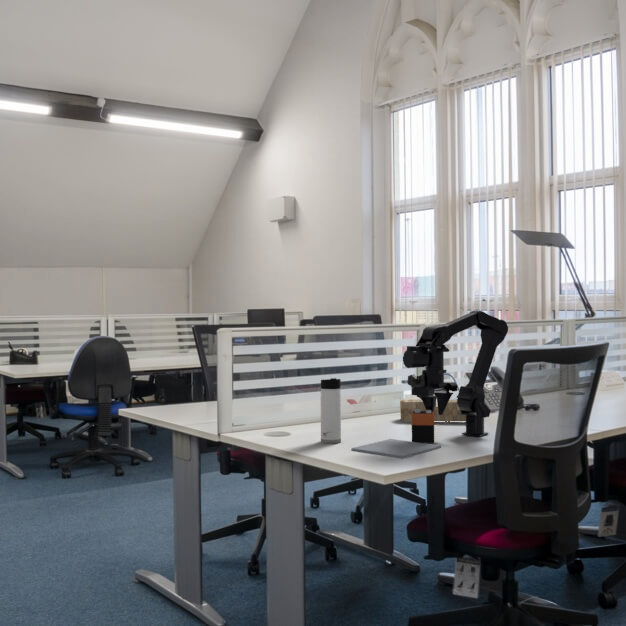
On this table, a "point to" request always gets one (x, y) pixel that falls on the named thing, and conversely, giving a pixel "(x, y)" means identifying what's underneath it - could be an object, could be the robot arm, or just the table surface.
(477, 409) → the robot arm
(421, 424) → the battery
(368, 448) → the mat
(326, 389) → the travel mug
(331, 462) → the table surface
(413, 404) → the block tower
